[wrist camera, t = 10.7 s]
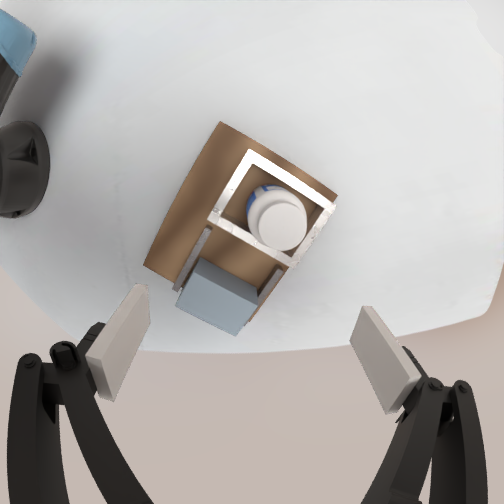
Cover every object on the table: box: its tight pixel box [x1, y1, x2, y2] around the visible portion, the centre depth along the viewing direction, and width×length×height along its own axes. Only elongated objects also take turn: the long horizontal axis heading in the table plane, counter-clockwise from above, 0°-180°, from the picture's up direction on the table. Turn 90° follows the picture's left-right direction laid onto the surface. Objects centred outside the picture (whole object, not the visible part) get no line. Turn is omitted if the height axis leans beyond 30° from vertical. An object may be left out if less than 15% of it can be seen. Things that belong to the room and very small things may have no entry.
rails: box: [172, 224, 284, 326], centre depth 33 cm, size 10×9×2 cm
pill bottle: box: [246, 184, 307, 251], centre depth 26 cm, size 6×5×10 cm
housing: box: [175, 257, 258, 336], centre depth 32 cm, size 8×5×4 cm, turn 59°
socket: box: [207, 149, 337, 269], centre depth 29 cm, size 11×8×3 cm
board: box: [143, 121, 338, 322], centre depth 32 cm, size 16×20×1 cm
